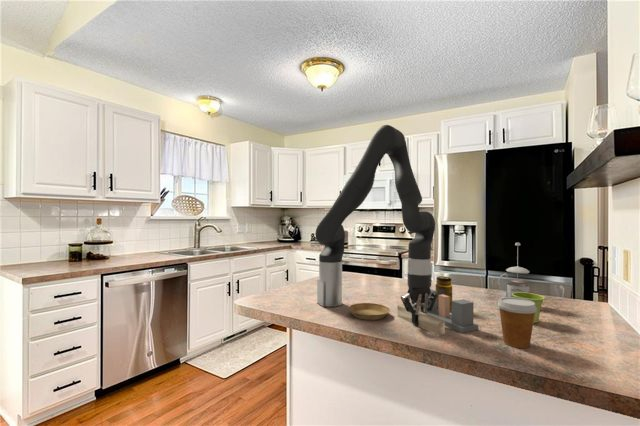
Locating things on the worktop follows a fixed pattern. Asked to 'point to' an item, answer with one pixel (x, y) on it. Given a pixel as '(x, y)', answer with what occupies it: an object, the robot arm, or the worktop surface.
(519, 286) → the french press
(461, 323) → the display stand
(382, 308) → the plant saucer
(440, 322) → the ash bar
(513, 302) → the disposable coffee cup
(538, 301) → the plant pot
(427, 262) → the robot arm
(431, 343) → the worktop surface
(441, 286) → the condiment
